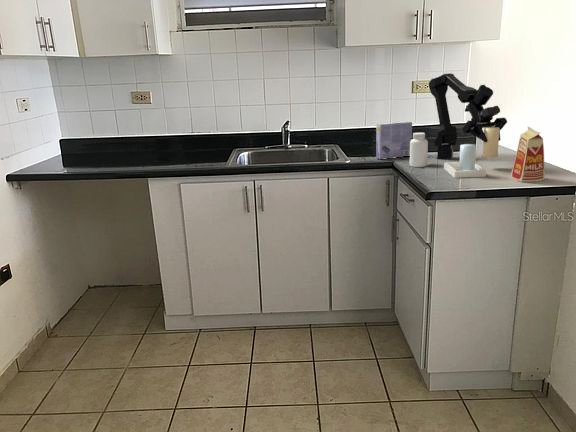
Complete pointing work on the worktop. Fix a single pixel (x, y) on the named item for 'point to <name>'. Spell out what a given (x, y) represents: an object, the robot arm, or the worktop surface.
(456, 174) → the white rectangular tray
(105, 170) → the worktop surface
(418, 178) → the worktop surface
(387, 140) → the cake pan box
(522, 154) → the milk carton
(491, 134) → the beige tall cylinder
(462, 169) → the pale blue cylinder
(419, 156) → the pill bottle
